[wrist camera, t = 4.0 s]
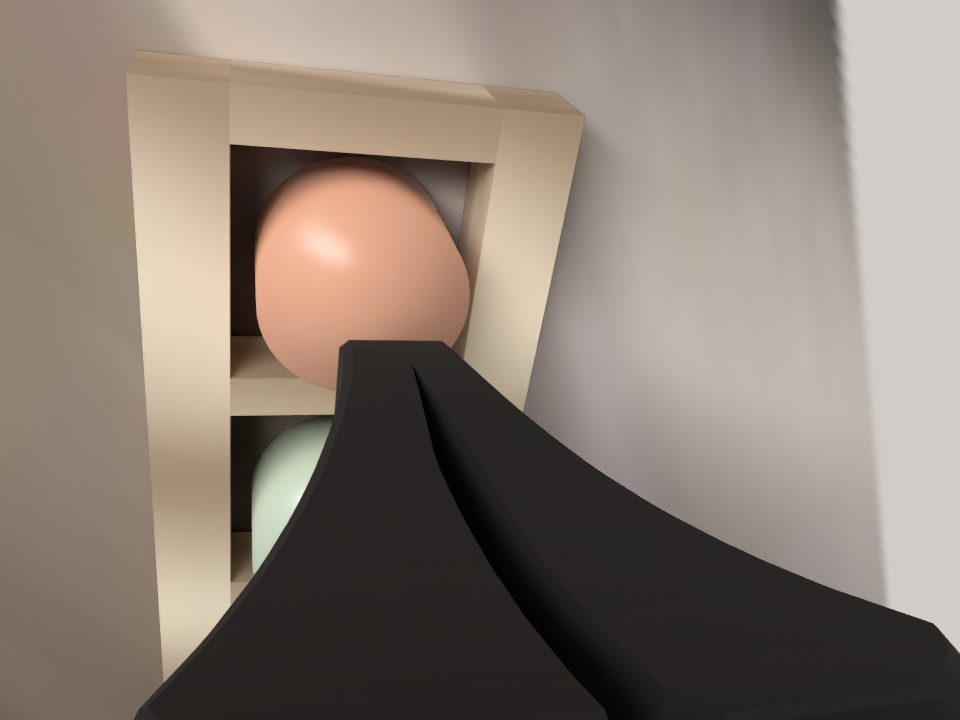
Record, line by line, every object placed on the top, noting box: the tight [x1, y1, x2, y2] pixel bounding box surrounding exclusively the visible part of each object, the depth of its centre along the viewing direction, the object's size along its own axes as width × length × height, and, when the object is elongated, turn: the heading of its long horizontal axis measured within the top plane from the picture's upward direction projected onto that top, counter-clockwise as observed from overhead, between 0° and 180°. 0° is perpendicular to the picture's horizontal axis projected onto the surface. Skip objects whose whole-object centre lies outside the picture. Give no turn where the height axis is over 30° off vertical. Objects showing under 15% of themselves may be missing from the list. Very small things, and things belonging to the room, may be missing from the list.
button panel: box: [126, 51, 586, 682], centre depth 17 cm, size 16×7×2 cm, turn 171°
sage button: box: [251, 414, 334, 574], centre depth 16 cm, size 3×3×2 cm
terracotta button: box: [254, 157, 470, 391], centre depth 14 cm, size 3×3×2 cm
